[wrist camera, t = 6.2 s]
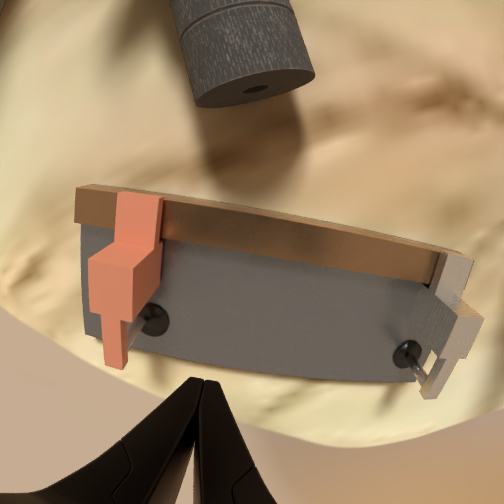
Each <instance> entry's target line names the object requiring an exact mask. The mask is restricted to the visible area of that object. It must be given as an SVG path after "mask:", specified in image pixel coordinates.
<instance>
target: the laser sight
mask: <svg viewBox="0 0 504 504" xmlns="http://www.w3.org/2000/svg"><path fill="white" fill-rule="evenodd" d="M169 1H170V6H171V9H172V13H173V16H174V20H175V24H176V28H177V31H178V35H179V42H180V46H181V49H182V52H183V55H184V59H185V63H186V67H187V71H188V75H189V79H190V83H191V86H192V90H193V95H194V99H195V104H196V105H197V106H198V107H202V108H217V107H226V106H232V105H238V104H243V103H248V102H252V101H257V100H261V99H265V98H268V97H272V96H275V95H279V94H282V93H285V92H288V91H291V90H294V89H296V88H299V87H301V86H303V85H305V84H307V83H309V82H310V81H312V80H313V79H314V78H315V72H314V70H313V67H312V64H311V61H310V58H309V55H308V52H307V49H306V46H305V44H304V41H303V38H302V35H301V32H300V29H299V26H298V23H297V19H296V17H295V14H294V11H293V9H292V7H291V5H290V2H289V0H169Z"/></svg>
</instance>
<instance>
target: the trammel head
mask: <svg viewBox="0 0 504 504" xmlns="http://www.w3.org/2000/svg"><path fill="white" fill-rule="evenodd" d="M163 199H164V196H157V195H150V194H143V193H136V192H128V191H122V192H119V193H118V194H117V205H116V219H115V236H114V242H113V243H112V244H110V245H108V246H107V247H105V248H104V249H102V250H101V251H99V252H98V253H96V254H95V255H93V256H92V257H90V258H89V259H88V286H89V306H90V312H92V313H96V314H100V315H101V325H102V339H103V350H104V360H105V365H106V366H110V367H113V368H117V369H120V370H123V369H124V367H125V366H126V364H127V362H128V350H129V349H130V347H131V345H132V344H133V342H134V340H135V339H136V337H137V336H138V334H139V332H140V331H141V329H142V328H143V326H144V324H145V321H144V319H143V318H142V317H139V316H138V317H137V315H138V314H139V313H140V311H141V310H142V308H143V307H144V306H145V304H146V303H147V301H148V300H149V299H150V297H151V296H152V294H153V293H154V292H155V290H156V289H157V288H158V286H159V285H160V271H161V259H162V247H163V241H162V240H159V236H160V226H161V216H162V207H163ZM127 322H131V324H130V326H129V327H128V329H127Z"/></svg>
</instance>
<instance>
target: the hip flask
mask: <svg viewBox="0 0 504 504" xmlns="http://www.w3.org/2000/svg"><path fill="white" fill-rule="evenodd" d="M5 1H6V0H0V14H1V12H2V9H3V6H4V4H5Z"/></svg>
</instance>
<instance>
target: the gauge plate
mask: <svg viewBox="0 0 504 504" xmlns="http://www.w3.org/2000/svg"><path fill="white" fill-rule="evenodd" d="M122 191H128V192H136V193H143V194H150V195H157V196H164V199H163V207H162V216H161V226H160V236H159V240H162V241H163V247H162V259H161V271H160V285H159V286H158V288H157V289H156V290H155V292H154V293H153V294H152V296H151V297H150V299H149V300H148V301H147V303H146V304H145V306H144V307H143V308H142V310H141V311H140V313H139V314H138V315H137V317H138V316H139V317H142V318H143V319H144V321H145V324H144V326H143V328H142V329H141V331H140V332H139V334H138V336H137V337H136V339H135V340H134V342H133V344H132V345H131V347H133V348H137V349H141V350H145V351H149V352H153V353H157V354H162V355H166V356H171V357H175V358H180V359H185V360H190V361H195V362H200V363H206V364H211V365H217V366H223V367H229V368H235V369H241V370H248V371H255V372H262V373H270V374H278V375H287V376H296V377H306V378H318V379H331V380H347V381H369V382H415V381H416V379H417V380H418V381H419V383H420V385H421V386H422V387H421V389H420V391H419V392H420V394H421V395H422V397H423V399H424V400H425V399H436V398H437V397H438V395H439V393H440V392H441V390H442V388H443V387H444V385H445V383H446V381H447V380H448V378H449V376H450V374H451V372H452V371H453V369H454V367H455V365H456V363H457V361H458V359H466V357H467V355H468V353H469V351H470V349H471V347H472V345H473V343H474V341H475V338H476V336H477V334H478V332H479V330H480V328H481V325H482V323H483V321H484V318H483V317H482V316H481V315H480V314H479V313H477V312H476V311H475V310H474V309H473V308H471V307H470V306H469V305H468V304H467V303H465V302H464V301H463V300H462V299H460V298H461V296H462V293H463V290H464V289H465V286H466V284H467V281H468V278H469V275H470V272H471V269H472V266H473V263H474V260H473V259H472V258H470V257H468V256H466V255H463V254H462V253H460V252H458V251H454V250H450V249H446V248H442V247H438V246H434V245H430V244H426V243H422V242H418V241H413V240H409V239H405V238H400V237H396V236H392V235H387V234H383V233H378V232H374V231H369V230H365V229H360V228H355V227H351V226H346V225H341V224H336V223H331V222H326V221H321V220H316V219H311V218H306V217H301V216H296V215H290V214H285V213H280V212H274V211H269V210H263V209H258V208H252V207H246V206H240V205H235V204H229V203H223V202H217V201H210V200H204V199H198V198H191V197H185V196H178V195H171V194H165V193H158V192H150V191H143V190H136V189H128V188H121V187H113V186H105V185H96V184H91V185H86V186H82V187H77V188H76V196H75V217H74V223H80V224H81V285H82V303H83V316H84V327H85V334H86V335H90V336H93V337H96V338H100V339H102V325H101V315H100V314H96V313H92V312H90V306H89V286H88V259H89V258H90V257H92V256H93V255H95V254H96V253H98V252H99V251H101V250H102V249H104V248H105V247H107V246H108V245H110V244H112V243H113V242H114V236H115V219H116V205H117V194H118V193H119V192H122ZM130 324H131V322H127V329H128V327H129V326H130ZM431 349H432V350H433V352H434V353H435V354H436V355H437V359H436V361H435V363H434V365H433V367H432V369H431V371H430V373H429V374H428V375H427V373H426V372H425V371H424V369H423V366H424V364H425V362H426V360H427V358H428V356H429V354H430V352H431Z"/></svg>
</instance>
